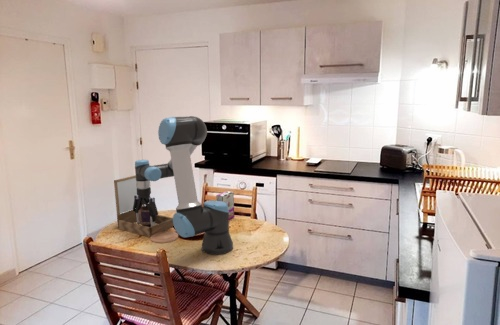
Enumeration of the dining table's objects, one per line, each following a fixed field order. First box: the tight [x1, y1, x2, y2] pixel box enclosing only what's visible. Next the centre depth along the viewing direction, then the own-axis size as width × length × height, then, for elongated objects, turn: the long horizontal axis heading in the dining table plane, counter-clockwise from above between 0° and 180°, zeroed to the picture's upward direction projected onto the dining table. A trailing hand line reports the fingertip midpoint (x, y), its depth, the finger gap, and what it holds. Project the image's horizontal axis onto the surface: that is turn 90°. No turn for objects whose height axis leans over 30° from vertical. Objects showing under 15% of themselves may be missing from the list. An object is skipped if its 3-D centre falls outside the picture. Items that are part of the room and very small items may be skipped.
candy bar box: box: [216, 190, 235, 221], centre depth 210 cm, size 11×5×16 cm, turn 147°
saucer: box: [150, 230, 179, 244], centre depth 184 cm, size 14×14×1 cm
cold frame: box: [116, 204, 174, 238], centre depth 198 cm, size 26×18×19 cm
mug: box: [138, 205, 151, 227], centre depth 199 cm, size 10×7×12 cm
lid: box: [113, 174, 143, 216], centre depth 203 cm, size 1×18×20 cm, turn 149°
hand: (146, 225), depth 200 cm, fingers open, 10 cm apart
